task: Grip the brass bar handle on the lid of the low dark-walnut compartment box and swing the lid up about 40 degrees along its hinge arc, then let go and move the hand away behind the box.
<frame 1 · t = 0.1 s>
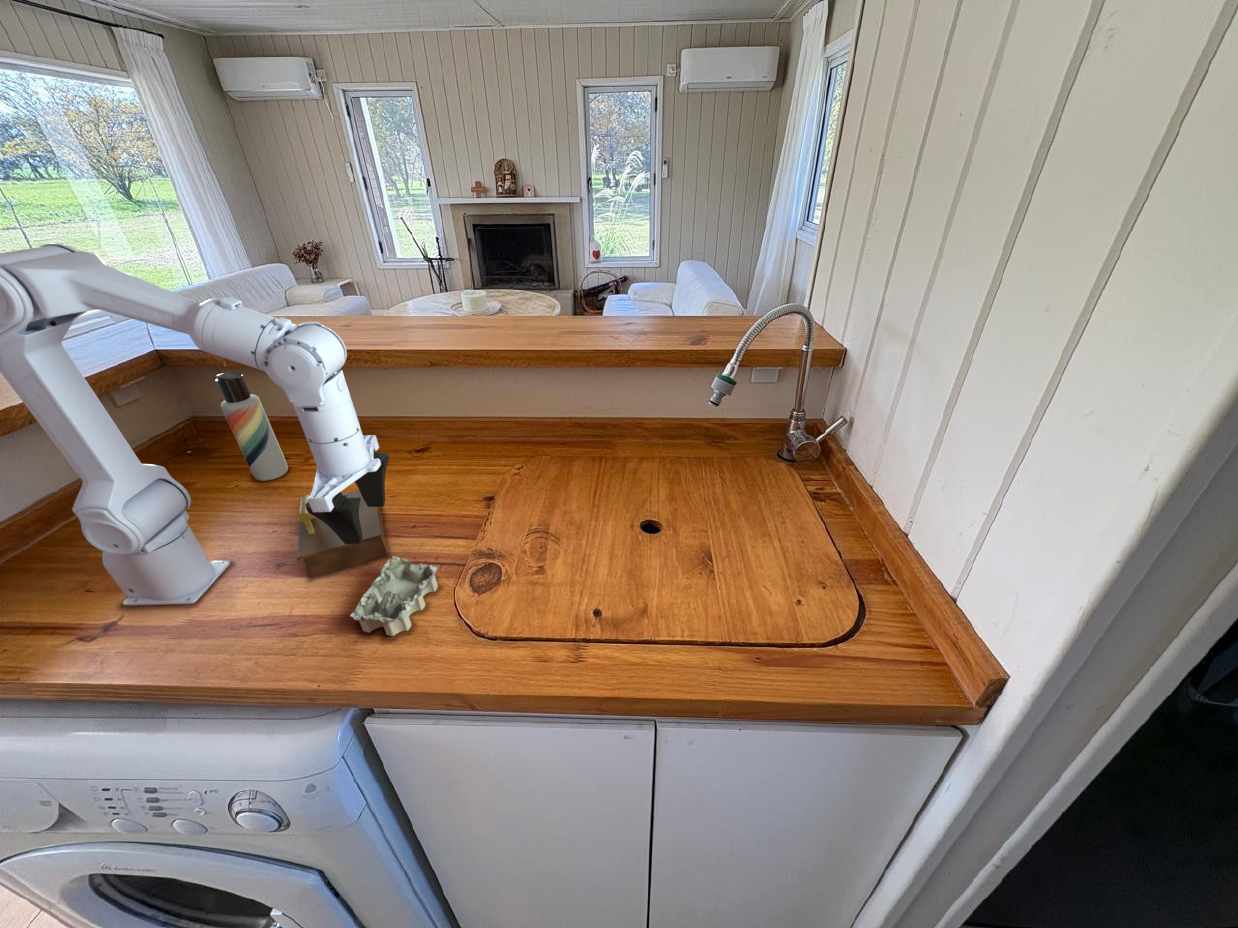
hand: (365, 522, 65), 10 cm above the counter, tool pointing down, fingers open, 7 cm apart
lotion bottle: (272, 473, 95), on the counter
egg carton: (402, 605, 67), on the counter
lid: (335, 509, 75), point 6 cm above the counter, hinge at 0.0°
compartment: (348, 538, 78), on the counter
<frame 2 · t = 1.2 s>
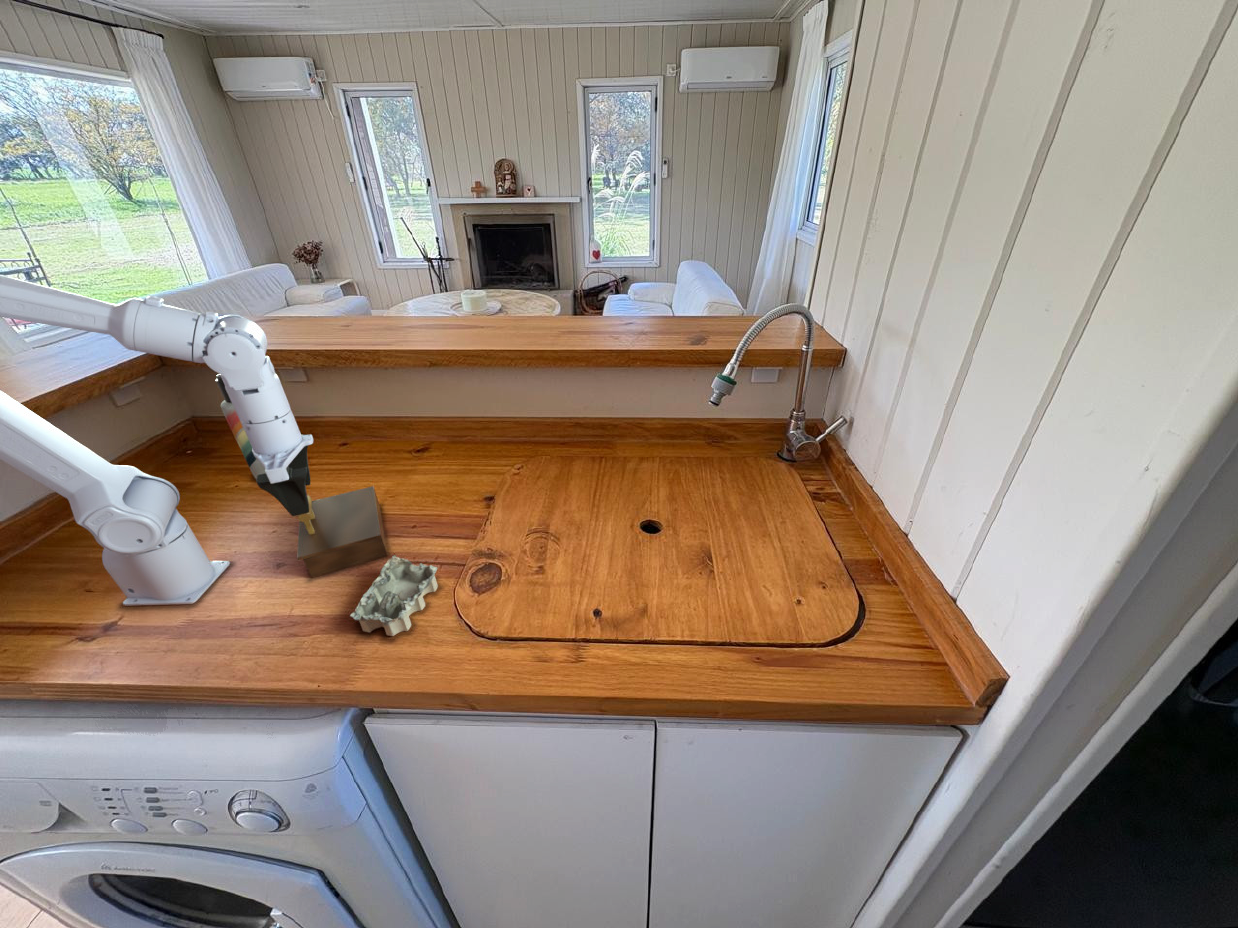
hand: (301, 498, 72), 9 cm above the counter, tool pointing down, fingers open, 7 cm apart
nothing on the counter moved.
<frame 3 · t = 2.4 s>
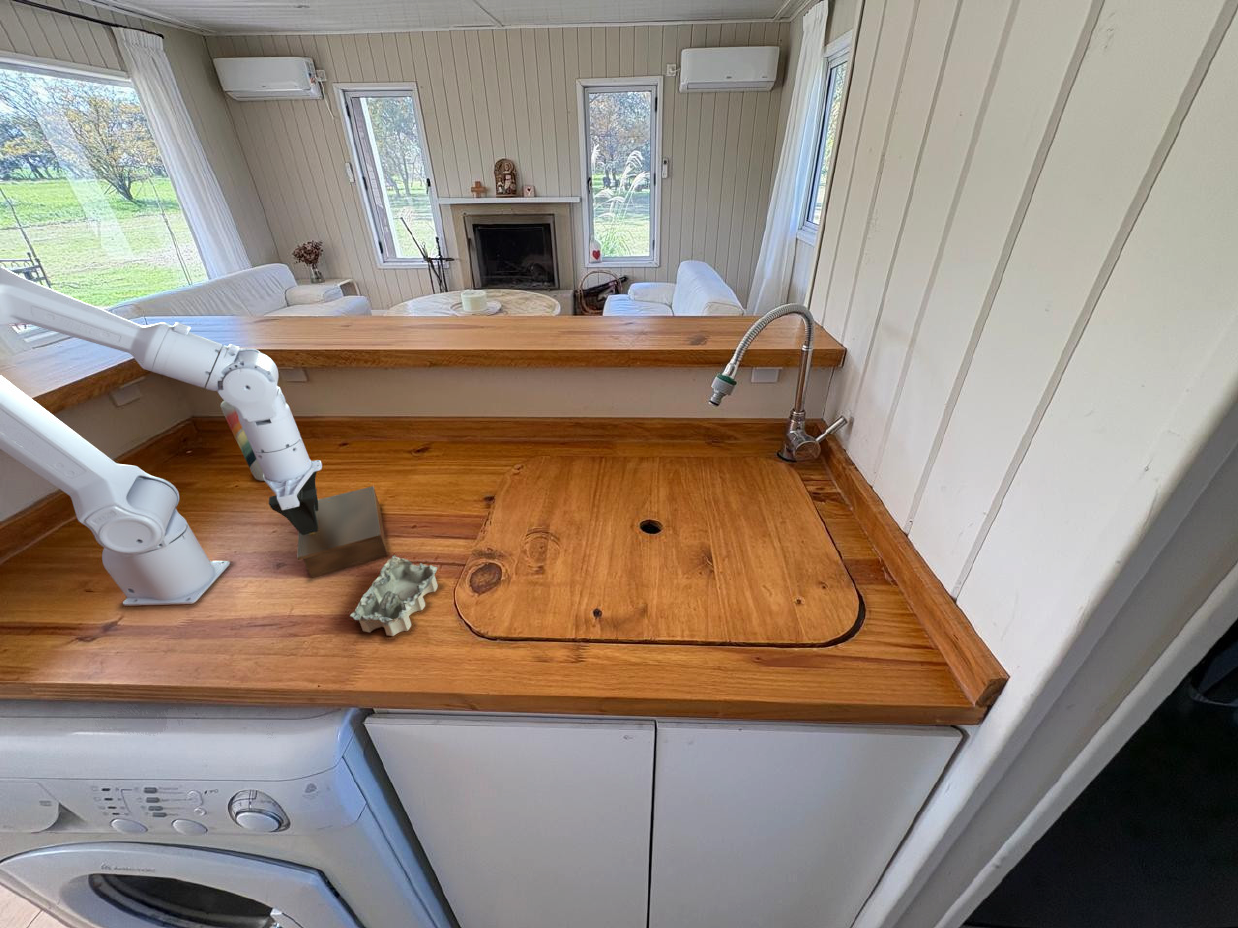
hand: (310, 521, 74), 5 cm above the counter, tool pointing down, fingers closed on lid, 5 cm apart
lid: (335, 509, 75), point 6 cm above the counter, hinge at 0.0°, touching gripper
everything else where it was.
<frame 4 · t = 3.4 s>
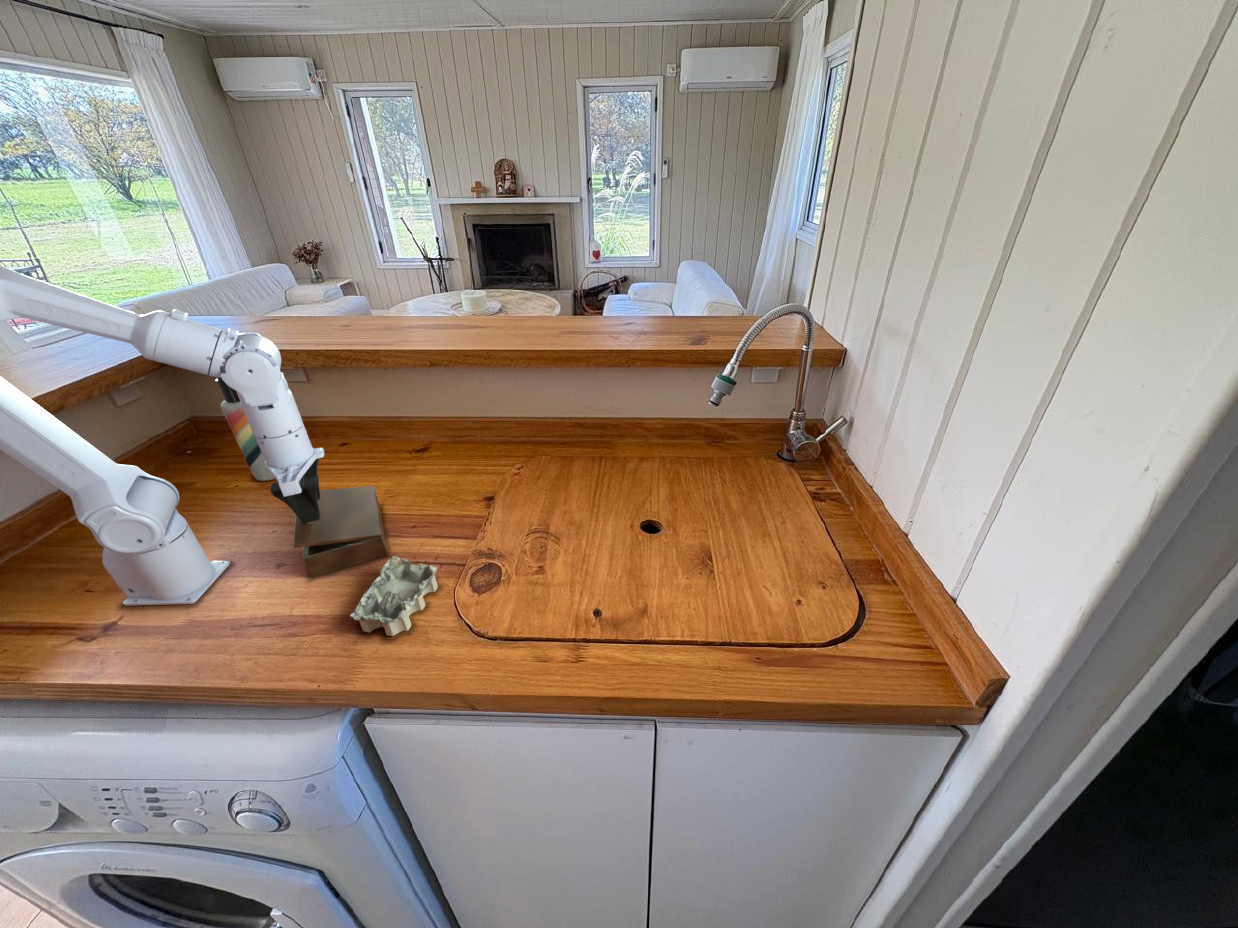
hand: (312, 510, 73), 7 cm above the counter, tool pointing down, fingers closed on lid, 5 cm apart
lid: (337, 502, 75), point 7 cm above the counter, hinge at 12.0°, touching gripper
everything else where it was.
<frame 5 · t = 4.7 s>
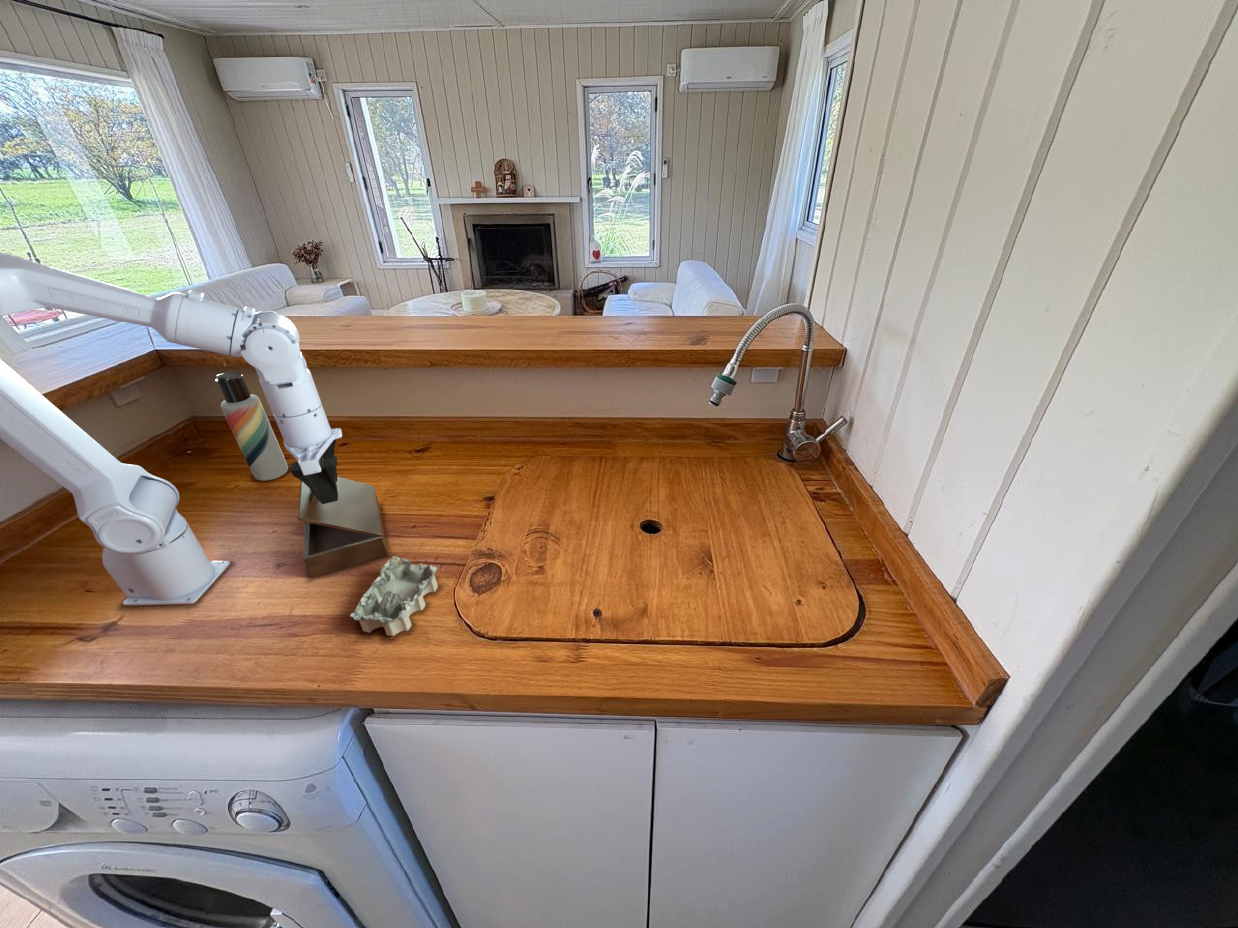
hand: (330, 491, 73), 9 cm above the counter, tool pointing down, fingers closed on lid, 5 cm apart
lid: (345, 490, 74), point 9 cm above the counter, hinge at 35.9°, touching gripper
everything else where it was.
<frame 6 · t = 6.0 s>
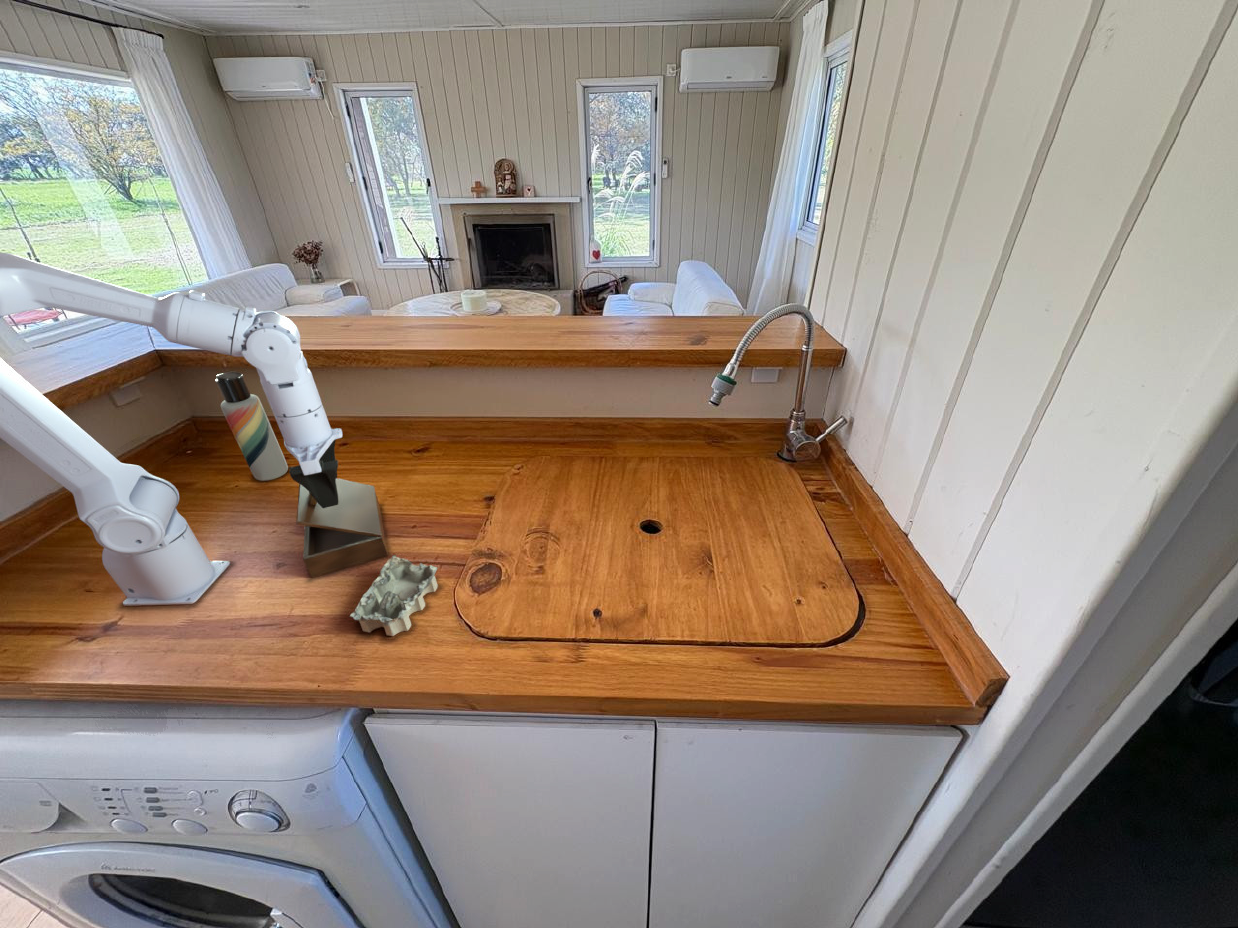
hand: (330, 491, 73), 9 cm above the counter, tool pointing down, fingers open, 7 cm apart
lid: (344, 491, 74), point 8 cm above the counter, hinge at 32.6°
everything else where it was.
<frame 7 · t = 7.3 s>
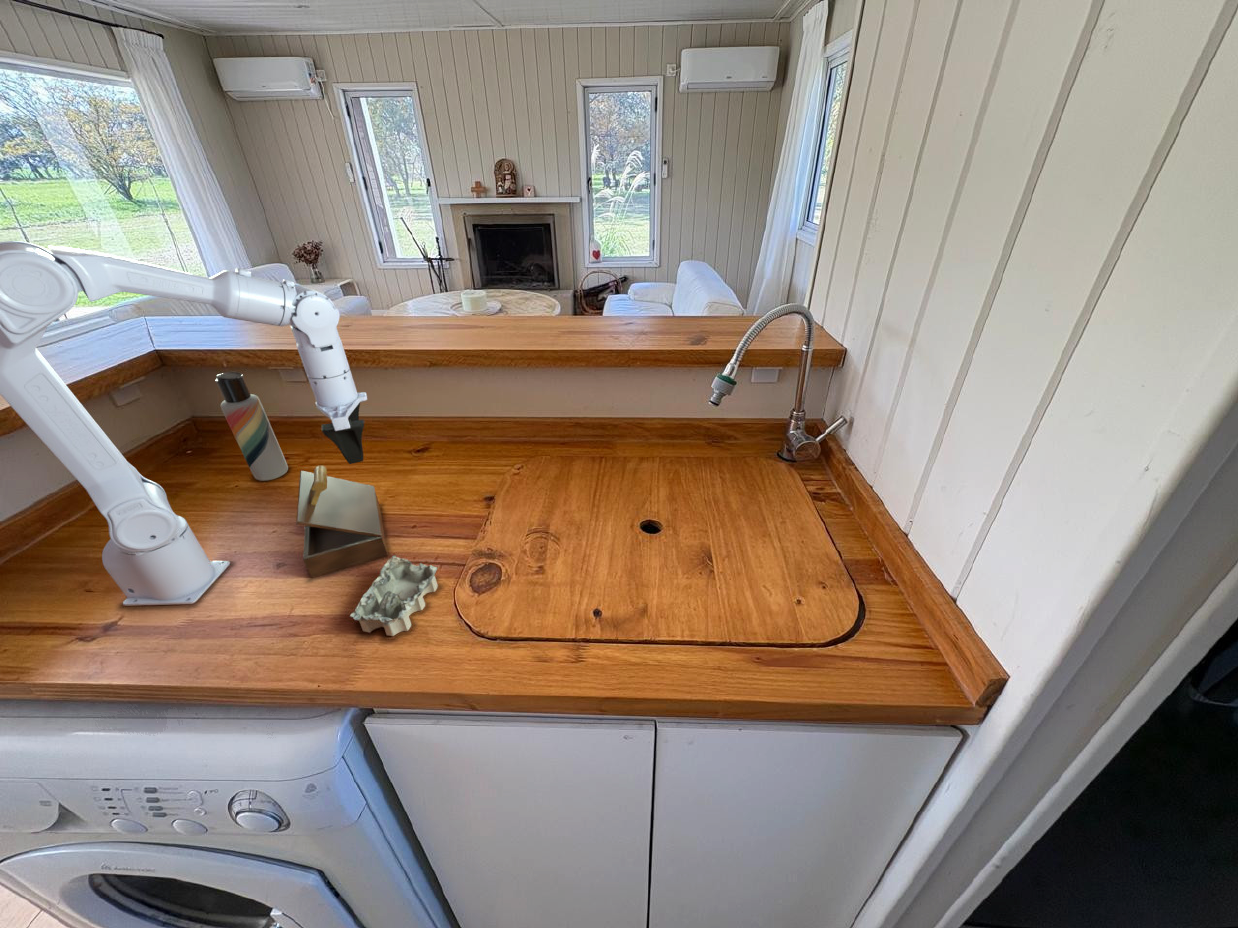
hand: (355, 450, 81), 10 cm above the counter, tool pointing down, fingers open, 7 cm apart
nothing on the counter moved.
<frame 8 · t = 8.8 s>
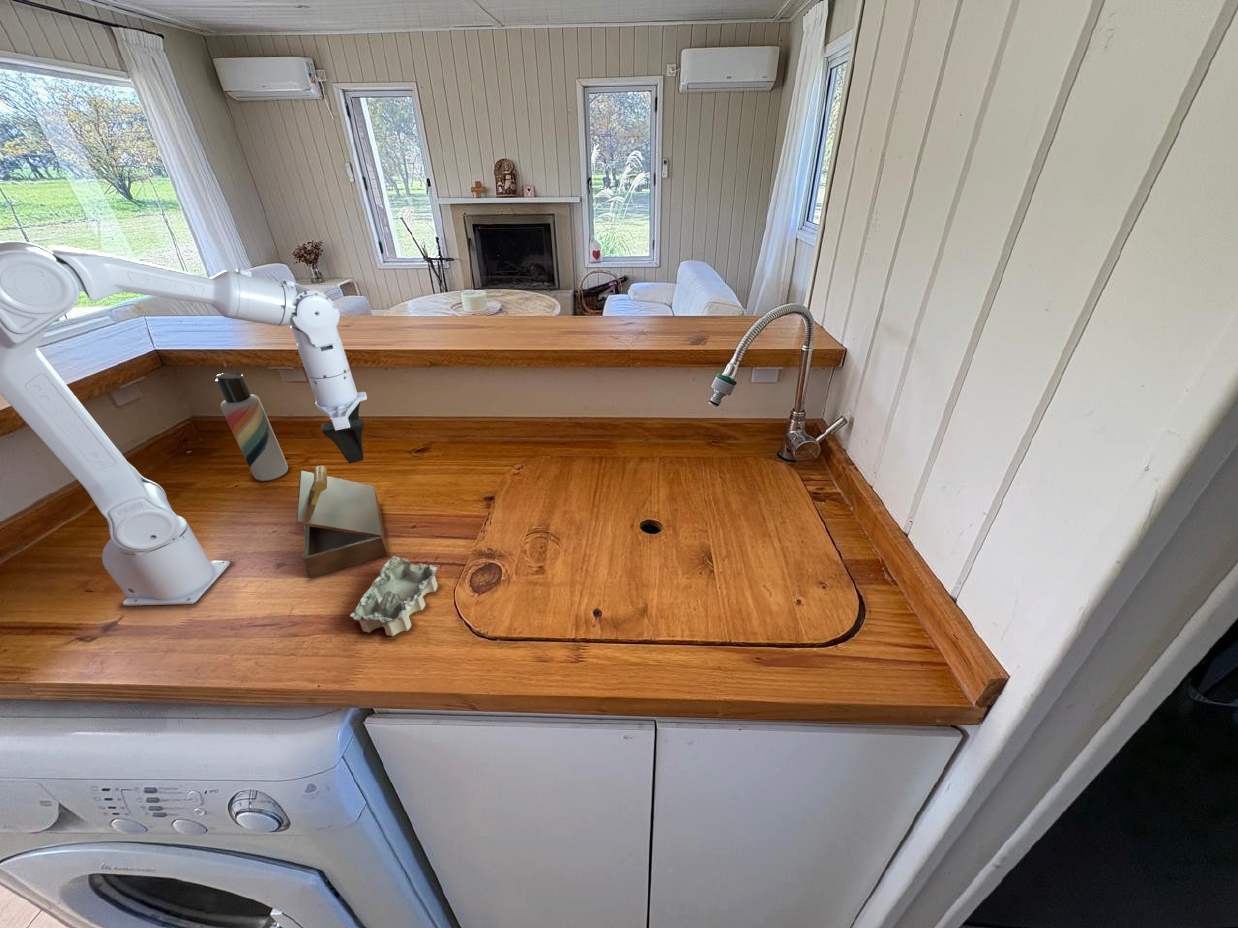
hand: (355, 450, 81), 10 cm above the counter, tool pointing down, fingers open, 7 cm apart
nothing on the counter moved.
at the end: lid at +33° (first picture: +0°) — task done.
